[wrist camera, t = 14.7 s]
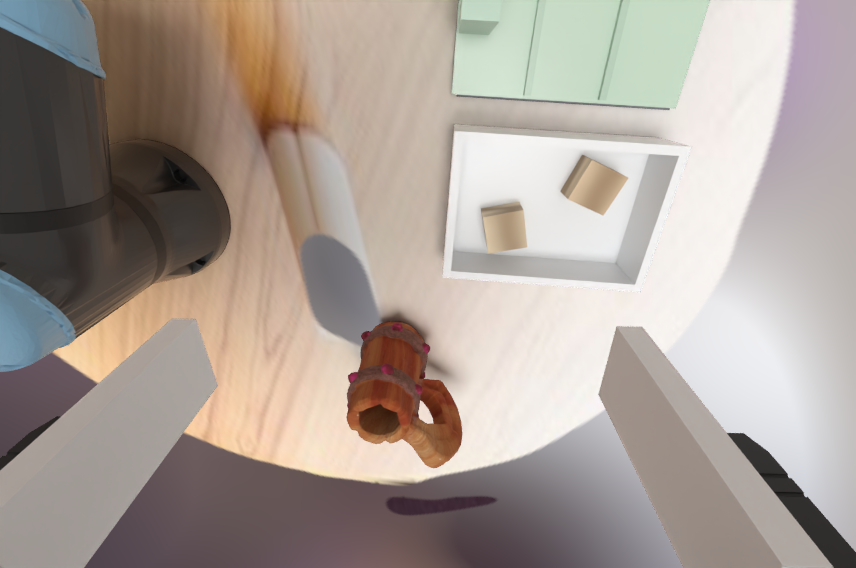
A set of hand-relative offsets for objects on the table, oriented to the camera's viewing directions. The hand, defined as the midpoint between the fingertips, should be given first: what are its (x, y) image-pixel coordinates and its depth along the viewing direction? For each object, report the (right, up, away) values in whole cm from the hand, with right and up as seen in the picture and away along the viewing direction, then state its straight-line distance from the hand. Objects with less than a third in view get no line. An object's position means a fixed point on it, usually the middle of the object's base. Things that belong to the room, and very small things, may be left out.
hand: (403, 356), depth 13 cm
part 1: (+9, +9, +30) cm, 32 cm away
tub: (+13, +11, +29) cm, 34 cm away
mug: (-1, -6, +39) cm, 40 cm away
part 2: (+17, +13, +27) cm, 35 cm away
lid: (+14, +26, +21) cm, 36 cm away
